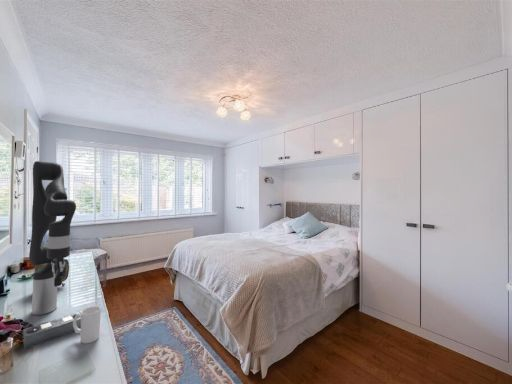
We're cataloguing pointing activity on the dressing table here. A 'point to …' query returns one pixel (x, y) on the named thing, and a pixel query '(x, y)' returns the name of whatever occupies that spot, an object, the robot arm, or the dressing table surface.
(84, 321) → the mug
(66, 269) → the tabletop clock
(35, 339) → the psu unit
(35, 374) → the dressing table surface
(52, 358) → the dressing table surface
